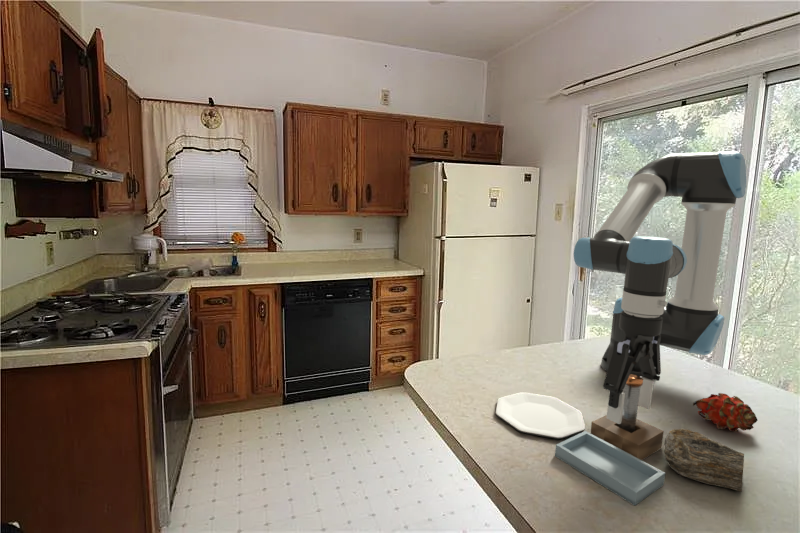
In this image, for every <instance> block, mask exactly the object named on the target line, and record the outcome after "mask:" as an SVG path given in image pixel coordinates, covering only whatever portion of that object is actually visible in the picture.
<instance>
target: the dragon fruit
mask: <svg viewBox="0 0 800 533" xmlns="http://www.w3.org/2000/svg"><path fill="white" fill-rule="evenodd" d="M692 406H693V407H694V406H696V408H697V409H699V410H698V411H697V414H698V415H699V416H700V417H701V418H702V419H704V420H707V421H710V422H711V423H712V424H715V425H716V428H717V429H718V430H725V429H726V428H727V429H729V431H730V432H738V431H739V429H740V430H741V431H750V430H752V429H754V426H753V425H754V424H756V423H757V421H758V418H757V416H756V413H755V412H754V411H753V409H752V408H751V406H749V404H746V403H745V402H744V401H743V400H742V399H741V398H740V397H738V396H736V395H733V396H732V397H731V396H730V395H728V394H726V393H722V392H718V394H714V393H712V394H710V395H709V396H708V397H703V398H700V399H698V400H696V401H694V402H693V403H692Z"/></svg>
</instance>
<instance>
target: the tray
mask: <svg viewBox="0 0 800 533" xmlns="http://www.w3.org/2000/svg"><path fill="white" fill-rule="evenodd" d="M554 457H556V458H558V459H559V460H561V462H563V463H565V464H566V465H569V466H570V467H572V468H574V469H575V470H577V472H580V473H581V474H582V475H584V476H586V477H588V478H589V479H591V480H593V481H594V482H596V483H598V484H599V485H601V486H602V487H604V488H606V489H607V490H609V491H611V492H612V493H614V494H615V495H617V496H618V497H620V498H622V499H623V500H625V501H626V502H627V503H630V504H631V505H633V506H636V505H638V504H639V503H640V502H642V501H643V500H645V499H646V498H647V497H649V496H651V494H652V495H653V493H654V492H656V491H658V489H660V488H662V487H663V486H664V484H665V479H666V478H665V477H666V472H665V471H663V470H661V469H659V468H658V467H655V466H653V465H651V464H649V463H648V462H646V461H644V460H640V459H638V458H636V457H634V456H633V455H631V454H629V453H627V452H625V451H623V450H621V449H619V448H617V447H615V446H613V445H612V444H610V443H608V442H606V441H604V440H602V439H600V438H598V437H596V436H594V435H593V434H591V433H590V432H589V431H587V430H584V431H582V432H579V433H577V434H574V435H572V436H571V437H569V438H567V439H565V440H563V441H561V442H558V443H557V444H555V451H554Z"/></svg>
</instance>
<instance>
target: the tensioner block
mask: <svg viewBox="0 0 800 533" xmlns="http://www.w3.org/2000/svg"><path fill="white" fill-rule="evenodd" d="M606 417H607V414H605V415H603V416H601V417H599V418H597V419H594V420H593V421H591V425H590V432H589V433H591V434H593V435H594V436H596V437H598V438H600V439H602V440H604V441H606V442H608V443H610V444H612V445H613V446H615V447H617V448H619V449H621V450H623V451H625V452H627V453H629V454H631V455H633V456H634V457H636V458H638V459H640V460H642V461H644V460H645V459H646V458H648V457H650V456H651V455H653V454H655V453H657V452H658V451H660V450H661V449H662V448H663V447H662V446H663V441H664V440H663V439H664V433H665V432H664V430H662V429H660V428H658V427H656V426H654V425H652V424H650V423H647V422H645V421H642V420H640V419H638V418H636V426H635V431H634V432H633V433H630V432H628V431H626V430H624V429H622V428H620V427H619V424H618V423H616V422H613V421H611V420H609V419H607V418H606Z"/></svg>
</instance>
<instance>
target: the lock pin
mask: <svg viewBox="0 0 800 533" xmlns="http://www.w3.org/2000/svg"><path fill="white" fill-rule="evenodd" d="M642 385H643V379H642V378H641V377H639V376H636V375H632V374H630V375H629V378H628V380H627V382H626V385H625V387H624V389H623V393H625V397H624V405H623V413H622V421H621V424H619V427H620V428H622V429H624V430H626V431H628V432H630V433H633V432H634V431H635V426H636V419H638V410H639V406H638V403H639V395H640V388H641V386H642Z"/></svg>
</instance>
